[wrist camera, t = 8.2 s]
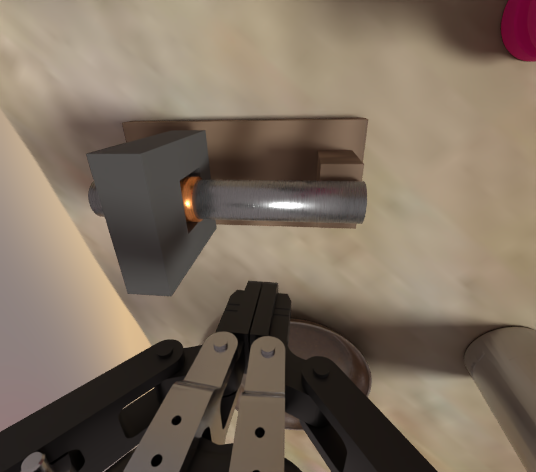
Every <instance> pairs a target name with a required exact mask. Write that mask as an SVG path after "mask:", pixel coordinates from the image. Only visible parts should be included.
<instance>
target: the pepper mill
mask: <svg viewBox="0 0 536 472" xmlns="http://www.w3.org/2000/svg"><path fill="white" fill-rule="evenodd" d="M501 34H502V40H503V43H504V45H505V47H506V49H507V50H508V51H509V52H510V54H512V55H513V56H514V57H516V58H518V59H520V60H523V61H536V0H508V2H507V4H506V7H505V9H504V13H503V17H502V21H501Z"/></svg>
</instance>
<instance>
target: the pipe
mask: <svg viewBox="0 0 536 472" xmlns="http://www.w3.org/2000/svg"><path fill="white" fill-rule="evenodd" d="M180 187H181V193H182V199H183V205H184V211H185V217H186V221H187V222H201V221H202V220H203V219H209V220H245V221H282V222H318V223H355V224H362V223H363V221H364V218H365V213H366V206H367V189H366V184H365V182H364V181H296V180H203V179H202V178H201V177H184V178H183V179H182V180H180ZM88 198H89V203H90V206H91V208H92V210H93V211H94V213H95V214H97V215H98V216H102V217H105V216H104V213H103V209H102V206H101V203H100V199H99V196H98V193H97V189H96V186H95V183H94V181H93V183H92V184H91V186H90V188H89V193H88Z"/></svg>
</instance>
